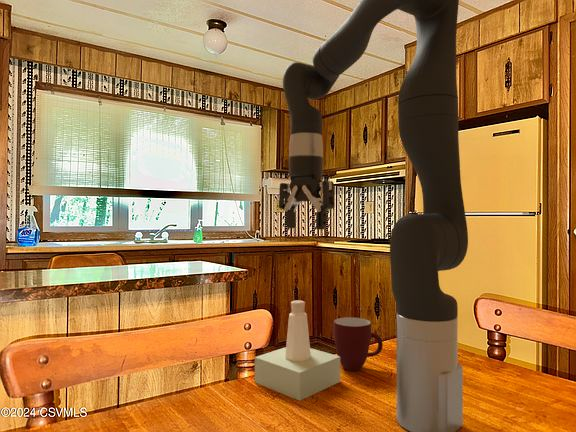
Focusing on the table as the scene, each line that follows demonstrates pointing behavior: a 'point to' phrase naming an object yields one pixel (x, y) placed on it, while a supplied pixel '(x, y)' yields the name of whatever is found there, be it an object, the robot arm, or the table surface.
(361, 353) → the mug
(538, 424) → the table surface
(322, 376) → the sage box
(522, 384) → the table surface
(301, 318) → the salt shaker
